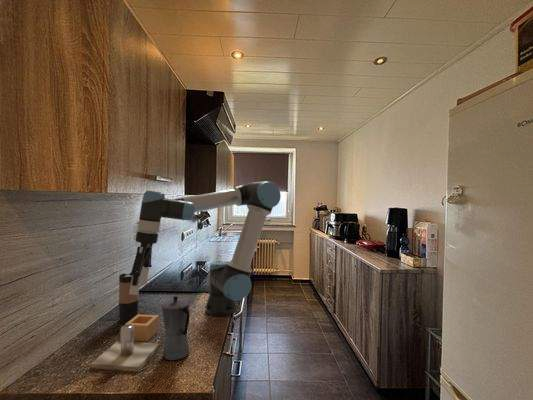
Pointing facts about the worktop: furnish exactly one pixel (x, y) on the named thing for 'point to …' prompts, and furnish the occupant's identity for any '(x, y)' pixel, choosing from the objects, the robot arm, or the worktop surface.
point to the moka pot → (176, 329)
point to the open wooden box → (144, 326)
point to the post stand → (126, 353)
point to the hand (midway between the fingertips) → (138, 288)
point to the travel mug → (126, 299)
